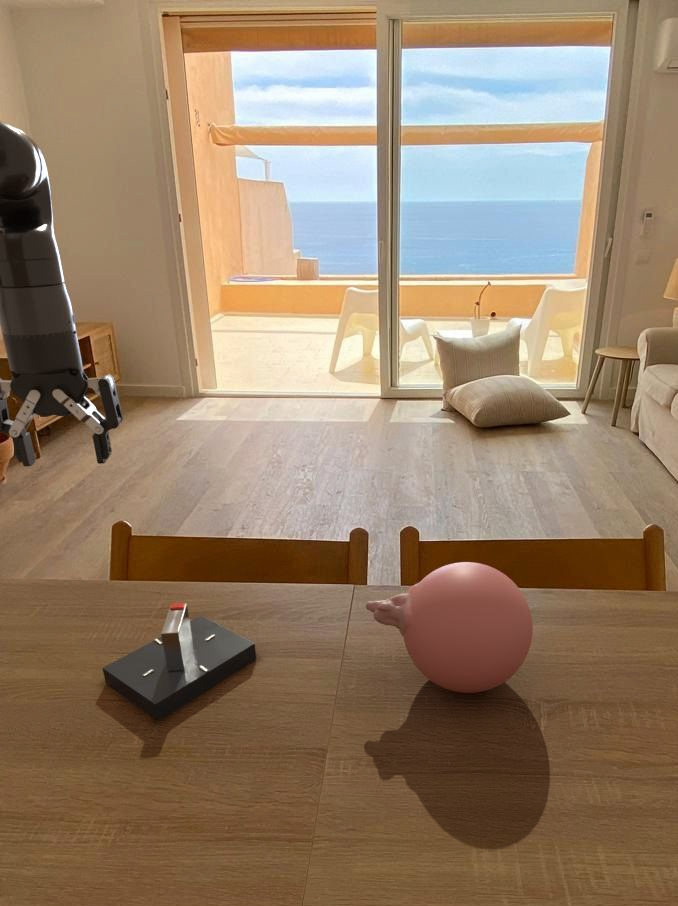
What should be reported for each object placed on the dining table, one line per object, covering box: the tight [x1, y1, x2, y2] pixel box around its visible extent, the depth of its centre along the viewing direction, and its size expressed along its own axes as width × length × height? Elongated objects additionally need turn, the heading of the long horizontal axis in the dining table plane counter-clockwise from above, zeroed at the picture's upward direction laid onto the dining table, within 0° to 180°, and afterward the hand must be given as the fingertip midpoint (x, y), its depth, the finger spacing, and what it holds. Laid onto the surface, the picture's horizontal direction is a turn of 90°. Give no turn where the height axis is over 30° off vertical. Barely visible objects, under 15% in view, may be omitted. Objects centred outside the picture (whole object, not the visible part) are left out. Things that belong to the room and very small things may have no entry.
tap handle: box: [160, 602, 192, 671], centre depth 86 cm, size 6×2×6 cm, turn 6°
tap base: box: [102, 615, 257, 722], centre depth 88 cm, size 15×11×3 cm
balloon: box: [365, 561, 534, 694], centre depth 84 cm, size 15×20×15 cm
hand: (66, 463), depth 84 cm, fingers open, 8 cm apart
